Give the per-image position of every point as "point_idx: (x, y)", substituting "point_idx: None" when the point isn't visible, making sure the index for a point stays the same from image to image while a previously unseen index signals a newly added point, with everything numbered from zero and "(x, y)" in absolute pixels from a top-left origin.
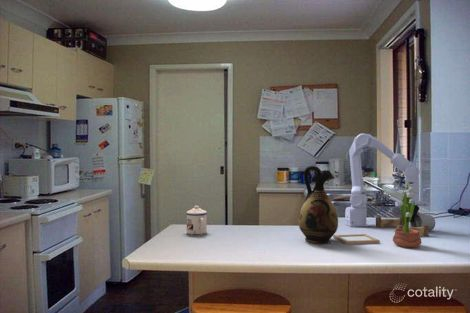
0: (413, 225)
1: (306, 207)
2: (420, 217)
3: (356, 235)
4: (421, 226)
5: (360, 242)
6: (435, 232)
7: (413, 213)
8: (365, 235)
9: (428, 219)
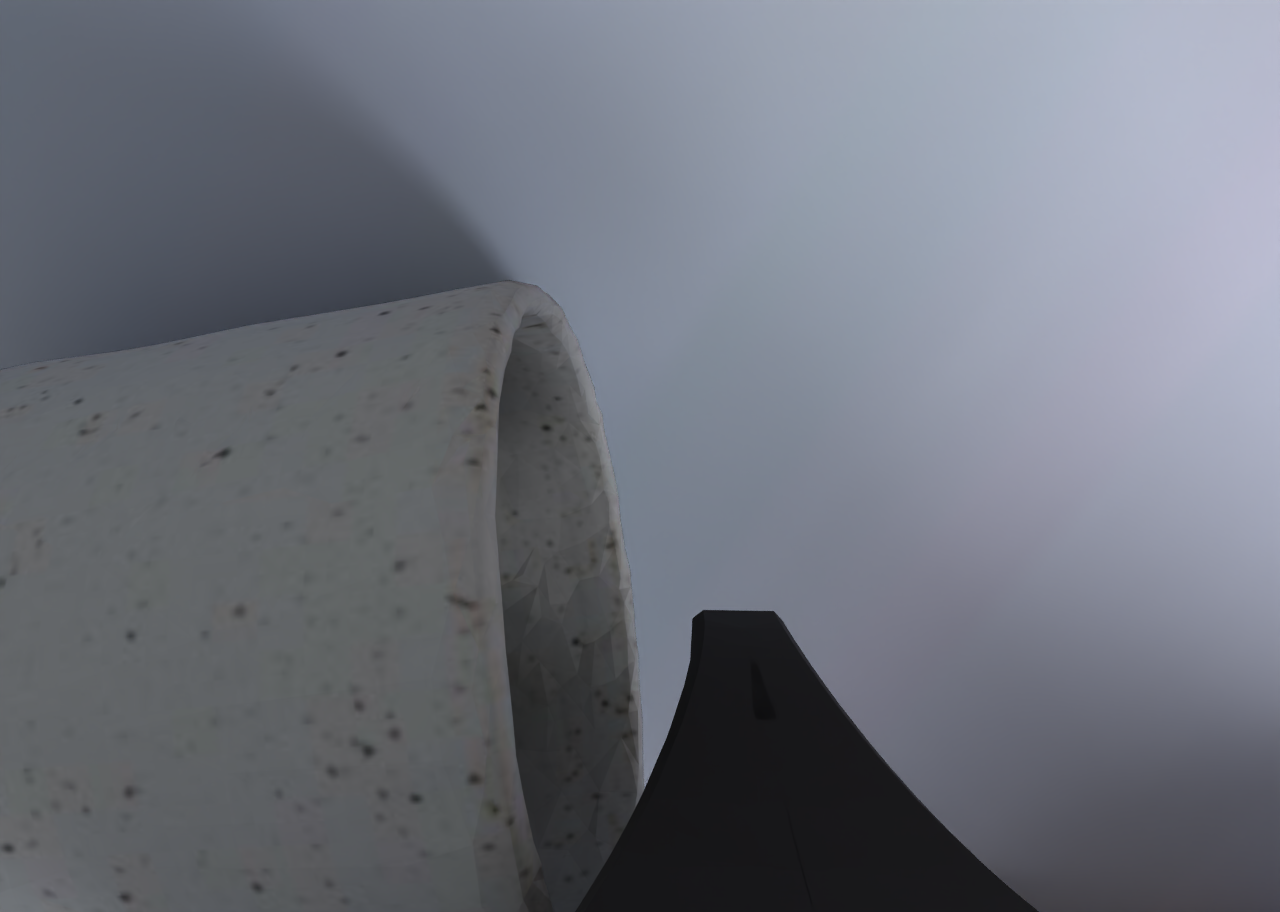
0: (544, 719)
1: None
2: (489, 557)
3: None
4: (534, 295)
5: None
6: (43, 253)
7: (824, 868)
8: None
9: (53, 494)
